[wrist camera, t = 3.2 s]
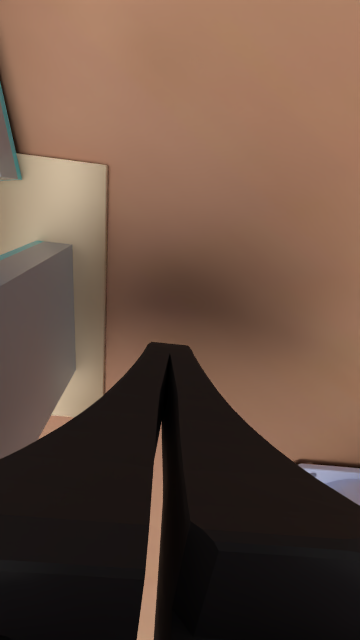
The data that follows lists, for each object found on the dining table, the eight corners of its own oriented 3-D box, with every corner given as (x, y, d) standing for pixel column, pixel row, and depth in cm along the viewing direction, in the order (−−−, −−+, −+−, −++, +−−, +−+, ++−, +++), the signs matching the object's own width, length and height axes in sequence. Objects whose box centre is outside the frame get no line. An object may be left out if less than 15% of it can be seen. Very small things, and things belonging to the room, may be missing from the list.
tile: (72, 244, 12) (-49, 314, 6) (76, 369, 14) (-5, 516, 8) (36, 240, 12) (-126, 306, 6) (46, 366, 14) (-58, 512, 8)
